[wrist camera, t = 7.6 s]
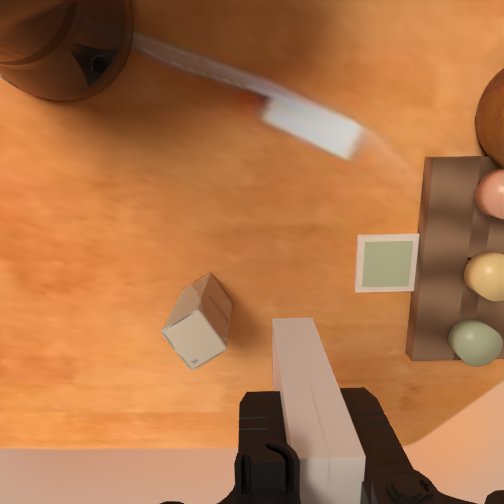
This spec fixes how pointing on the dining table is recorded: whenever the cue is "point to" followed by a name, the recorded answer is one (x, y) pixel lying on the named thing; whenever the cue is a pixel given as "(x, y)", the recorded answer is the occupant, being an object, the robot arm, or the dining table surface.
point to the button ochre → (486, 275)
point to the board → (451, 256)
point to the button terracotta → (491, 194)
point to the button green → (475, 342)
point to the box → (199, 322)
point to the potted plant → (492, 119)
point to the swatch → (386, 262)
